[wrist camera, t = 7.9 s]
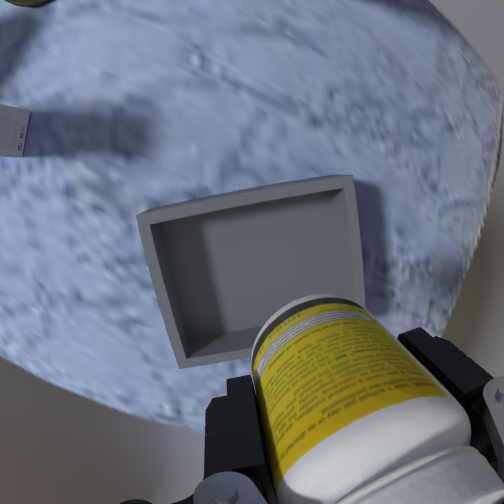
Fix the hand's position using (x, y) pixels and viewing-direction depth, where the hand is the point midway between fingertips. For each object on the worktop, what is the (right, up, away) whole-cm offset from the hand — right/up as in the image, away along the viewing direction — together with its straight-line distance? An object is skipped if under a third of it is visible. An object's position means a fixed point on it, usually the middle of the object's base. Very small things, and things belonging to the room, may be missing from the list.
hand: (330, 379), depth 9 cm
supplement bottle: (0, 0, +2) cm, 2 cm away
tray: (-2, +3, +17) cm, 17 cm away
